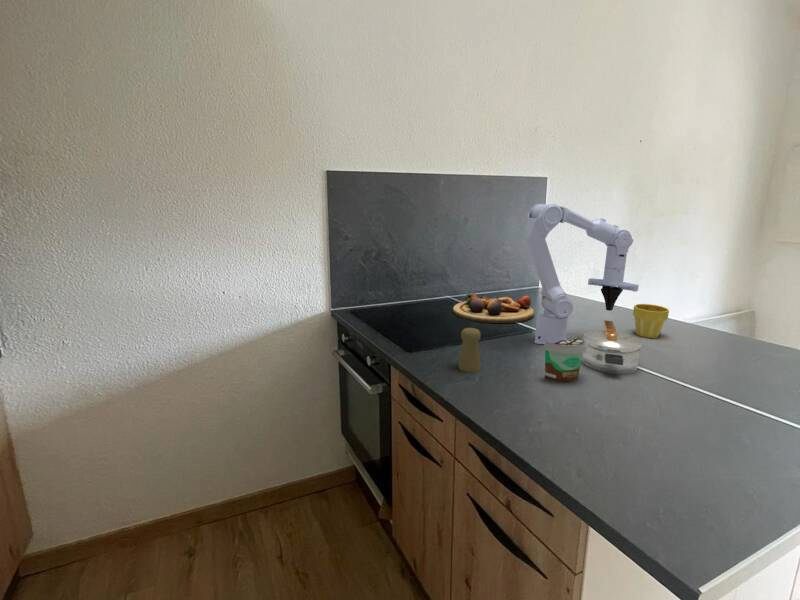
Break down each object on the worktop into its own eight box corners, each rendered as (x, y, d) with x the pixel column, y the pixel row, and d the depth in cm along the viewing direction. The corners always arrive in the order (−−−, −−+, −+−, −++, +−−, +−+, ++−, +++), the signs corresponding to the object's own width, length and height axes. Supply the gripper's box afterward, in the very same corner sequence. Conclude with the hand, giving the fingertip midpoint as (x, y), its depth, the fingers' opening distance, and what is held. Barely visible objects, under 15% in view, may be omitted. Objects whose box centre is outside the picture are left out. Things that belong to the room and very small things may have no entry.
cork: (482, 365, 118) (484, 327, 116) (478, 373, 113) (480, 333, 110) (460, 362, 120) (462, 324, 118) (455, 370, 115) (457, 330, 112)
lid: (645, 355, 109) (647, 344, 109) (583, 348, 114) (585, 337, 114) (634, 333, 128) (635, 323, 127) (581, 327, 133) (582, 318, 132)
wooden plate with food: (532, 306, 184) (533, 287, 182) (536, 326, 154) (537, 304, 152) (457, 303, 192) (458, 285, 190) (447, 321, 162) (448, 300, 160)
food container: (559, 388, 105) (563, 349, 102) (540, 378, 110) (543, 341, 108) (593, 378, 110) (598, 341, 108) (574, 370, 115) (578, 335, 113)
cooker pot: (642, 381, 109) (646, 359, 107) (583, 373, 113) (585, 352, 112) (630, 353, 129) (633, 334, 127) (580, 347, 133) (582, 328, 132)
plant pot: (669, 341, 140) (674, 312, 138) (635, 338, 142) (639, 310, 140) (658, 331, 150) (662, 304, 148) (626, 329, 152) (629, 302, 150)
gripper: (644, 269, 132) (637, 311, 135) (596, 264, 142) (591, 303, 145) (636, 272, 127) (630, 316, 130) (587, 266, 137) (582, 307, 140)
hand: (609, 309), depth 137 cm, fingers closed
